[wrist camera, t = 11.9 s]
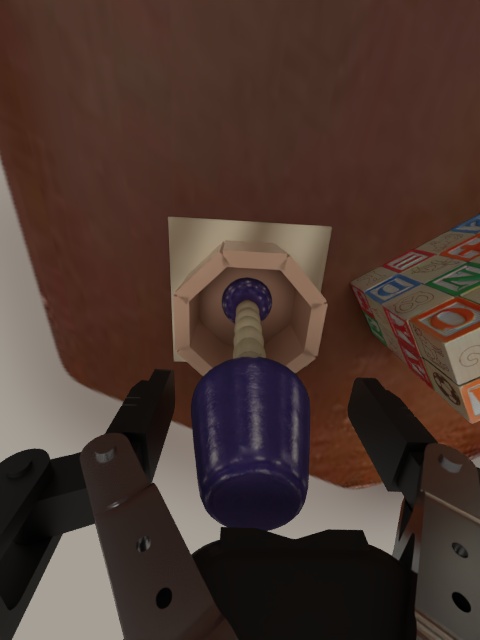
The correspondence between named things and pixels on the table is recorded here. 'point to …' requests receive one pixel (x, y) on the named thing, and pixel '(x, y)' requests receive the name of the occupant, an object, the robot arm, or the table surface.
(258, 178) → the table surface
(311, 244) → the birch board
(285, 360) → the beige octagonal hollow piece
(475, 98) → the table surface
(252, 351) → the toy lamp
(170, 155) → the table surface
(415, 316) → the stack of blocks
